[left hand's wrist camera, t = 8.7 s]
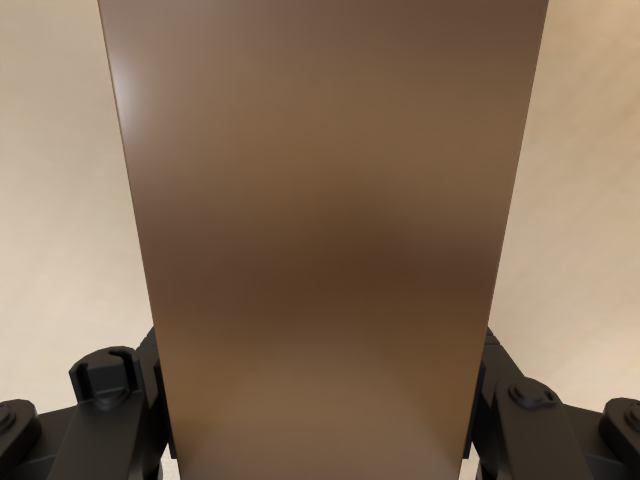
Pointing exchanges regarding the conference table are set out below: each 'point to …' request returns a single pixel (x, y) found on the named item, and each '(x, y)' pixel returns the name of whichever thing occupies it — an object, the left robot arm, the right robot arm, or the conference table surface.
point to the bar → (321, 220)
